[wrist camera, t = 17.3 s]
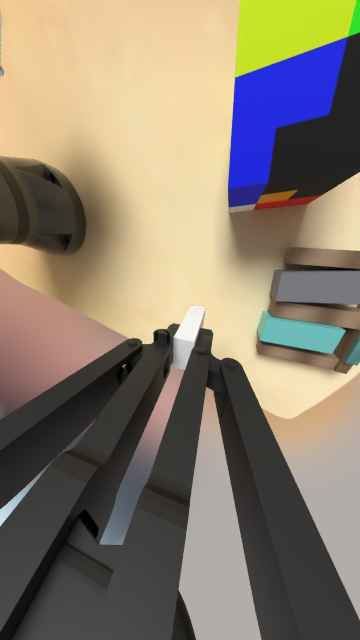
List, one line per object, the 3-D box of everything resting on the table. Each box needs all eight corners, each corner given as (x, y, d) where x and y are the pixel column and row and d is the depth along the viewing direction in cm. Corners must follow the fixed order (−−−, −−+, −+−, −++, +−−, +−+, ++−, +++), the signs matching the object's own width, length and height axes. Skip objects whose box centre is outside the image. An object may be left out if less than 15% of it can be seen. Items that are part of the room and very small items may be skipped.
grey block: (269, 294, 26) (275, 301, 22) (274, 269, 24) (281, 272, 21) (343, 296, 23) (364, 304, 19) (354, 268, 21) (379, 272, 18)
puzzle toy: (228, 213, 23) (228, 189, 14) (235, 116, 19) (240, -1, 10) (308, 203, 20) (369, 166, 11) (335, 87, 16) (465, -113, 7)
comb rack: (256, 345, 30) (259, 357, 27) (288, 248, 22) (298, 247, 19) (335, 361, 27) (349, 376, 23) (404, 254, 19) (438, 254, 16)
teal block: (256, 329, 29) (260, 340, 25) (262, 310, 27) (267, 319, 23) (318, 340, 26) (332, 353, 23) (329, 319, 25) (345, 330, 21)
